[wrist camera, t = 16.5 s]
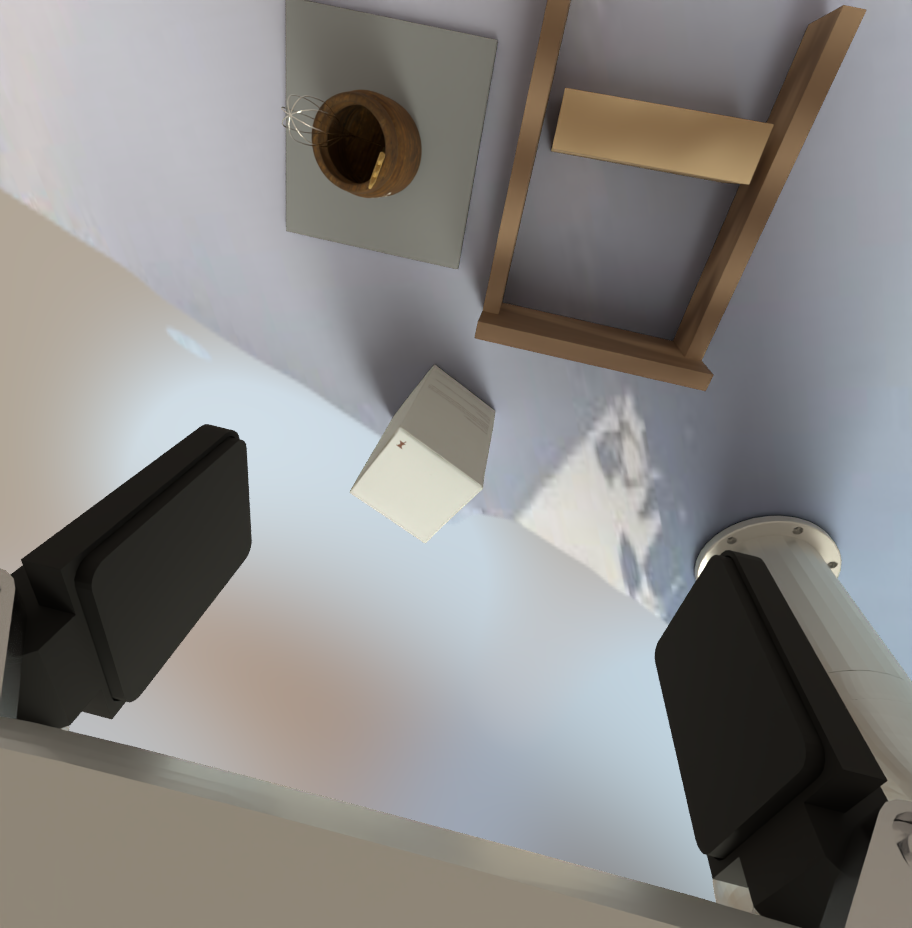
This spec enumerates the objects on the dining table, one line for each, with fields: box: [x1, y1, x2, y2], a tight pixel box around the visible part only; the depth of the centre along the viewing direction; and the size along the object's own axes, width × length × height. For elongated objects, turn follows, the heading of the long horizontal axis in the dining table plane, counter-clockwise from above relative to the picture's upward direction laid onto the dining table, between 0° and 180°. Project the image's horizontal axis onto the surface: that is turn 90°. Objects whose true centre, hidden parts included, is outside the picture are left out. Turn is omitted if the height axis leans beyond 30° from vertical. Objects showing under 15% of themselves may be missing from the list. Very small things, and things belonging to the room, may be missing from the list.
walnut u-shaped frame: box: [475, 0, 866, 391], centre depth 32 cm, size 21×16×7 cm
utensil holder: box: [281, 90, 422, 198], centre depth 30 cm, size 6×6×12 cm
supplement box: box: [350, 365, 495, 543], centre depth 40 cm, size 7×7×13 cm
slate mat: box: [286, 0, 498, 269], centre depth 35 cm, size 14×14×1 cm
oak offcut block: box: [551, 88, 774, 184], centre depth 31 cm, size 3×12×5 cm, turn 81°
